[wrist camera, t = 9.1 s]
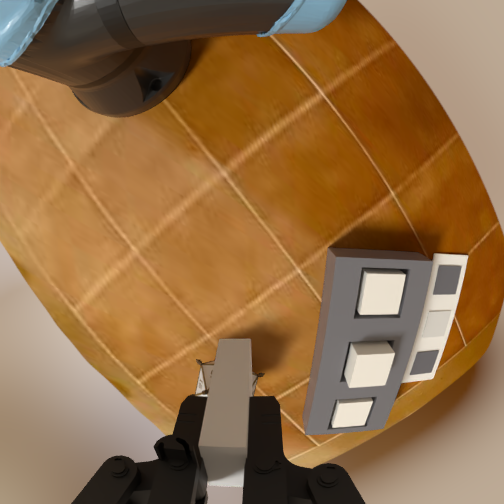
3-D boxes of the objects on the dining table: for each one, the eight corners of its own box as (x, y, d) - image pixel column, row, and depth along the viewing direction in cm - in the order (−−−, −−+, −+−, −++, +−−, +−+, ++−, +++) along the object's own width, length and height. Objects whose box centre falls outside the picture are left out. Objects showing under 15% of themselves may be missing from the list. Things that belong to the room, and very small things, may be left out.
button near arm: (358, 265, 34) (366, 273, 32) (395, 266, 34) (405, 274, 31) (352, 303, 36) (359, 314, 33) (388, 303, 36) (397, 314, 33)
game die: (241, 345, 43) (287, 368, 35) (229, 399, 42) (271, 430, 34) (183, 339, 38) (221, 366, 30) (172, 399, 37) (206, 437, 29)
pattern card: (433, 253, 35) (435, 254, 35) (466, 255, 35) (468, 256, 35) (400, 381, 40) (401, 383, 40) (432, 377, 40) (433, 379, 40)
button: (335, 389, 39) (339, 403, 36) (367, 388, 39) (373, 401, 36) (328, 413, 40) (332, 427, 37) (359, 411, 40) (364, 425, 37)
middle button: (350, 341, 35) (357, 355, 32) (386, 340, 35) (395, 353, 32) (343, 373, 36) (349, 387, 33) (378, 371, 36) (385, 385, 33)
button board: (327, 247, 35) (336, 256, 31) (418, 252, 35) (433, 261, 31) (302, 416, 42) (305, 435, 38) (376, 411, 42) (383, 428, 38)
